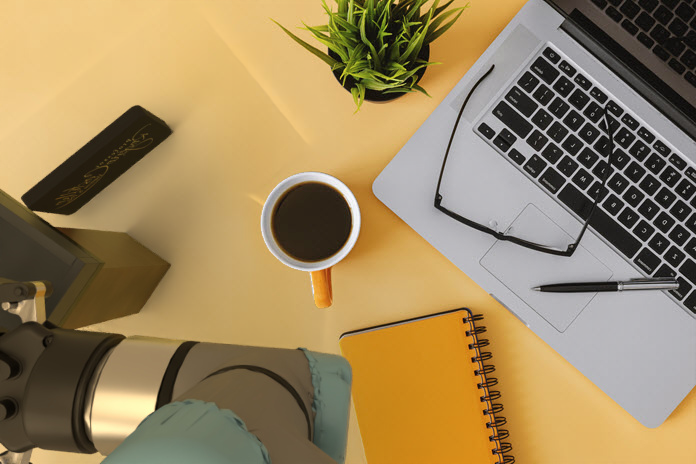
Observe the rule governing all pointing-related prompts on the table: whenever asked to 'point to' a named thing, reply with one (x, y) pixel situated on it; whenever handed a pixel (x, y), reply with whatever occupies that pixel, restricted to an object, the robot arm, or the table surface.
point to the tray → (42, 261)
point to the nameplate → (98, 163)
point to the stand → (115, 277)
